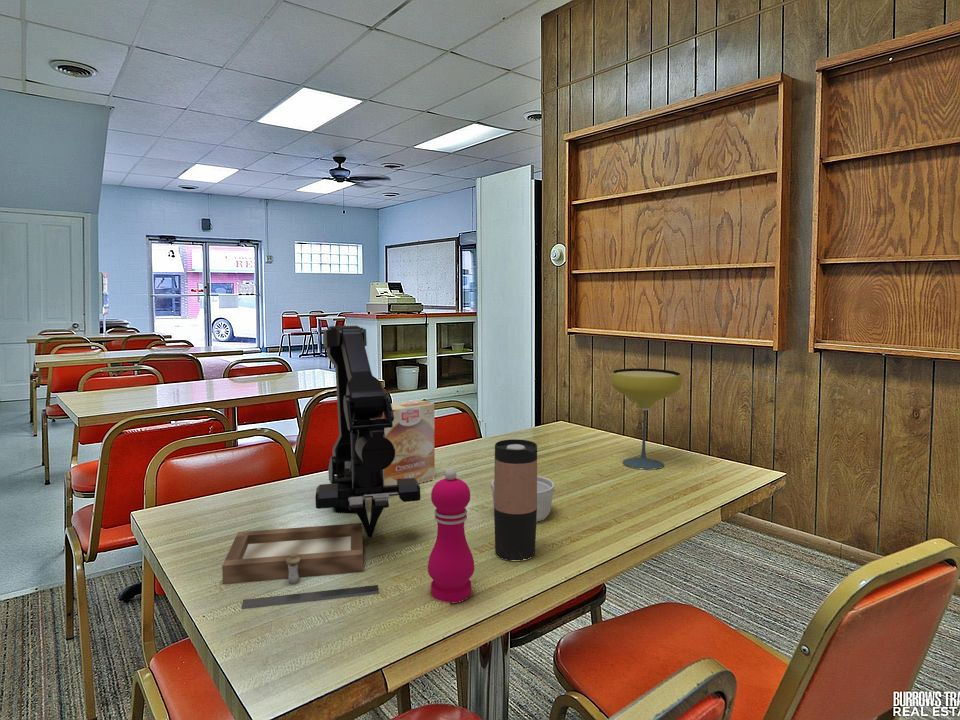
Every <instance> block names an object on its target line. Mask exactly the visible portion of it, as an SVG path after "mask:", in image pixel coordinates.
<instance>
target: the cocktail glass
mask: <svg viewBox="0 0 960 720" xmlns="http://www.w3.org/2000/svg"><path fill="white" fill-rule="evenodd" d="M610 382H611V386H612V387H613V388H614V389H615V391H617V392H618V393H620V394H622V396H625V397H627V398H628V399H631V400H632V401H634V402H635V403H636V404H637V405H638V407H639V408H640V409H641V410H642V411H643V424H642V443H641V452H640V457H631V458H626V459H624V460H623V461H622V464H623V465H624V466H625V465H626V467H627V466H629V467H628V468H630V467H634V468H643V469H653V468H660V467H662V468H664V467H663V465H664V466H665V463H663V462H662V461H660V460H657V459H653V458H648V457H647V453H646V452H647V451H646V431H647V430H646V429H647V427H646V425H647V424H646V423H647V422H646V421H647V420H646V419H647V411H649V410H650V409H651V408H652V407H653V405H654V404H655V403H657V402H658V401H661V400H664V399H666V398H668V397H670V396H672V395H675V393H676V392H678V391H679V390H680V388H681V386H682V382H683V380H682V374H681V373H680V372H678V371H675V370H669V369H659V368H643V367H642V368H638V367H637V368H636V367H635V368H633V367H632V368H619V369H614V370H613V371H612V372H611V376H610ZM634 468H633V469H634ZM660 469H661V468H660Z"/></svg>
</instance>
